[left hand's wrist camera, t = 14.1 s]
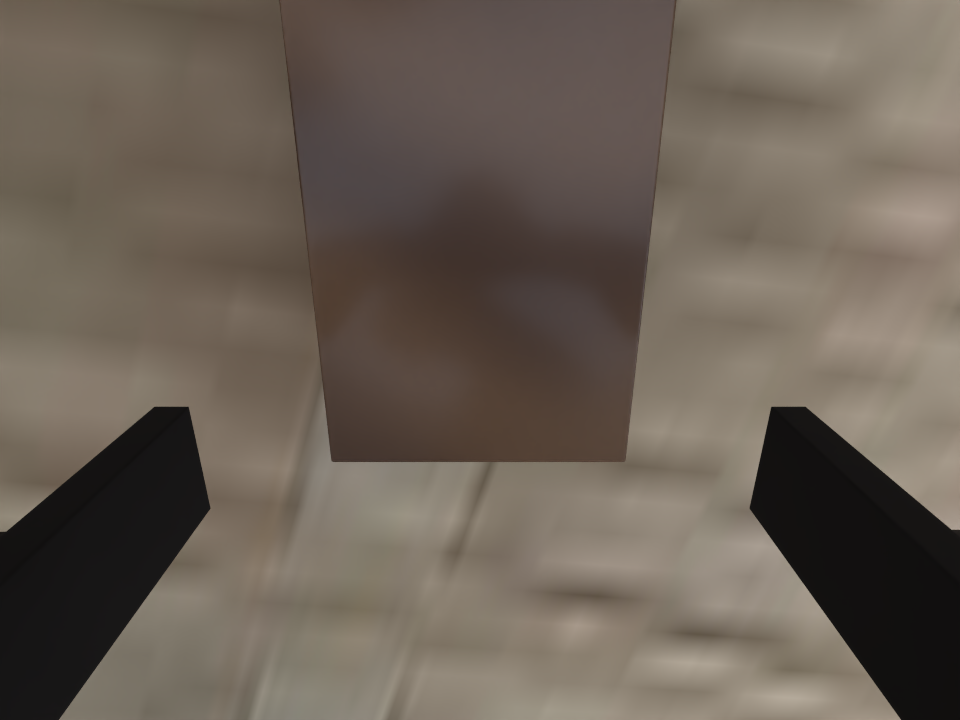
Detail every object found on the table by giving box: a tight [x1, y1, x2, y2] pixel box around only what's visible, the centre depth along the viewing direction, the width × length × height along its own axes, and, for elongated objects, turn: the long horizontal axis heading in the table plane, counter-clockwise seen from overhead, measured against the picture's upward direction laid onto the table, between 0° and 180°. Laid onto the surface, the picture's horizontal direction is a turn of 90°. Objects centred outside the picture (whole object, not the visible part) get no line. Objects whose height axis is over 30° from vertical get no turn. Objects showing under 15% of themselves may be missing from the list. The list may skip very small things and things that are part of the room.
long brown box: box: [279, 0, 676, 462], centre depth 22 cm, size 17×10×11 cm, turn 0°
